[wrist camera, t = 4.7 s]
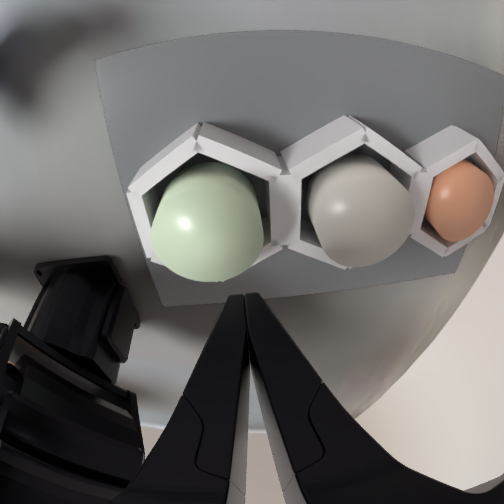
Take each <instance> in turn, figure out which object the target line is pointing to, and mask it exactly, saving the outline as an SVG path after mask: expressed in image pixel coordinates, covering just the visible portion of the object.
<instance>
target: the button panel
mask: <svg viewBox="0 0 504 504" xmlns="http://www.w3.org/2000/svg"><path fill="white" fill-rule="evenodd" d="M94 61H95V67H96V74H97V80H98V85H99V91H100V96H101V101H102V106H103V111H104V116H105V121H106V125H107V130H108V134H109V139H110V143H111V147H112V151H113V155H114V159H115V163H116V167H117V170H118V174H119V178H120V181H121V185H122V189H123V192H124V195H125V199H126V202H127V206H128V209H129V212H130V215H131V218H132V222H133V225H134V228H135V231H136V234H137V237H138V240H139V243H140V246H141V249H142V252H143V254H144V257H145V260H146V263H147V266H148V268H149V271H150V274H151V277H152V279H153V282H154V285H155V287H156V290H157V292H158V295H159V297H160V300H161V302H162V305H163V307H169V306H185V305H199V304H213V303H225V301H226V299H227V297H228V295H230V294H240V293H241V294H243V296H244V294H245V293H251V292H258V293H259V294H260V295H261V296H262V298H263V299H269V298H279V297H289V296H298V295H307V294H315V293H324V292H332V291H340V290H347V289H355V288H362V287H369V286H376V285H383V284H390V283H397V282H403V281H409V280H416V279H422V278H428V277H434V276H439V275H445V274H451V273H455V272H456V270H457V267H458V265H459V263H460V261H461V258H462V256H463V253H464V251H465V248H466V246H467V243H468V242H470V241H471V240H473V239H474V238H476V237H477V236H479V235H480V234H482V233H483V232H485V231H486V230H487V229H486V228H487V227H489V225H490V223H491V220H492V217H493V214H494V212H495V209H496V206H497V203H498V200H499V196H500V193H501V190H502V187H503V183H504V172H503V170H502V169H501V167H500V166H499V164H498V163H497V162H496V160H495V159H494V157H495V152H496V147H497V143H498V138H499V132H500V127H501V121H502V114H503V107H504V75H502V74H500V73H497V72H495V71H493V70H490V69H488V68H485V67H483V66H480V65H477V64H475V63H472V62H469V61H466V60H463V59H460V58H457V57H454V56H451V55H448V54H445V53H441V52H438V51H434V50H430V49H427V48H423V47H419V46H415V45H410V44H406V43H401V42H396V41H391V40H386V39H380V38H374V37H368V36H360V35H353V34H344V33H333V32H320V31H298V30H265V31H243V32H230V33H219V34H210V35H202V36H195V37H189V38H182V39H177V40H171V41H166V42H161V43H156V44H152V45H147V46H143V47H139V48H135V49H131V50H127V51H123V52H120V53H116V54H113V55H109V56H106V57H103V58H100V59H97V60H94ZM350 153H357V154H363V155H367V156H369V157H371V158H373V159H375V160H376V161H377V162H379V163H380V164H381V165H382V166H383V167H384V168H385V169H386V170H387V171H388V172H389V173H390V174H391V175H392V176H393V177H394V178H396V179H397V180H398V181H399V182H400V183H401V184H402V185H403V186H404V187H405V188H406V190H407V191H408V192H409V193H410V195H411V197H412V199H413V202H414V207H415V218H414V223H413V226H412V229H411V231H410V234H409V235H408V237H407V239H406V240H405V242H404V243H403V244H402V245H401V246H400V248H399V249H398V250H396V251H395V252H394V253H393V254H392V255H390V256H389V257H387V258H386V259H384V260H382V261H380V262H378V263H375V264H373V265H369V266H364V267H348V266H343V265H340V264H338V263H336V262H334V261H333V260H331V259H330V258H329V257H328V256H327V255H326V253H325V252H324V250H323V248H322V246H321V244H320V241H319V239H318V236H317V234H316V231H315V229H314V227H313V224H312V222H311V219H310V217H309V215H308V212H307V209H306V204H305V195H306V190H307V186H308V184H309V182H310V180H311V178H312V176H313V175H314V173H315V172H316V171H317V170H318V169H320V168H322V167H324V166H325V165H327V164H329V163H331V162H332V161H334V160H336V159H338V158H340V157H341V156H343V155H345V154H350ZM463 159H466V160H468V161H469V162H471V163H472V164H473V165H475V166H476V167H477V168H479V169H480V170H481V171H483V172H484V173H485V174H487V175H488V176H489V177H490V179H491V181H492V183H493V187H494V200H493V205H492V208H491V211H490V213H489V215H488V217H487V219H486V220H485V222H484V223H483V224H482V226H481V227H480V228H479V229H478V230H477V231H476V232H475V233H474V234H472V235H471V236H469V237H468V238H466V239H464V240H461V241H456V242H451V241H447V240H445V239H444V238H443V237H441V235H440V234H439V233H438V232H437V231H436V229H435V228H434V227H433V226H432V225H431V223H430V222H429V221H428V220H427V219H426V218H425V217H424V214H425V210H426V206H427V202H428V198H429V194H430V190H431V185H432V181H433V177H434V176H436V175H438V174H439V173H441V172H443V171H444V170H446V169H448V168H450V167H451V166H453V165H455V164H456V163H458V162H460V161H461V160H463ZM202 162H217V163H222V164H226V165H229V166H231V167H233V168H235V169H237V170H238V171H240V172H241V173H243V174H244V175H245V176H246V177H247V178H248V179H249V181H250V182H251V183H252V185H253V187H254V189H255V191H256V194H257V199H258V204H259V210H260V215H261V221H262V227H263V233H264V242H263V247H262V250H261V253H260V255H259V256H258V258H257V260H256V261H255V262H254V263H253V264H252V266H251V267H250V268H248V269H247V270H246V271H244V272H243V273H241V274H240V275H237V276H235V277H233V278H230V279H227V280H223V281H216V282H201V281H195V280H191V279H187V278H185V277H182V276H180V275H178V274H176V273H175V272H173V271H171V270H170V269H169V268H168V267H166V266H165V265H164V264H163V263H162V262H161V260H160V259H159V258H158V256H157V254H156V253H155V251H154V248H153V245H152V241H151V228H152V224H153V220H154V218H155V215H156V212H157V210H158V207H159V204H160V202H161V199H162V197H163V194H164V191H165V189H166V187H167V185H168V183H169V182H170V180H171V179H172V178H173V177H174V176H175V175H176V174H177V173H178V172H179V171H181V170H183V169H184V168H186V167H188V166H190V165H193V164H197V163H202Z"/></svg>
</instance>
